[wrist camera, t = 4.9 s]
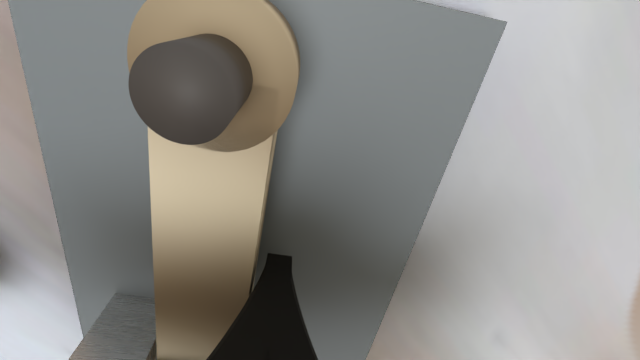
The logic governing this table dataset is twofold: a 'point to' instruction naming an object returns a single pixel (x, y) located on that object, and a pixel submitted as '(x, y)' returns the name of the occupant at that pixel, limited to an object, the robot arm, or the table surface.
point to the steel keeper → (121, 331)
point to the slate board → (289, 156)
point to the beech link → (208, 154)
